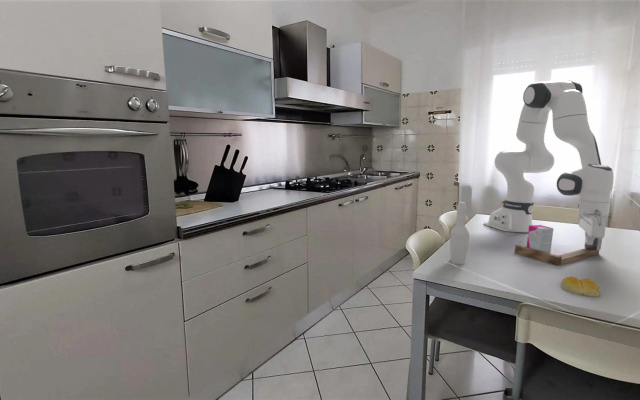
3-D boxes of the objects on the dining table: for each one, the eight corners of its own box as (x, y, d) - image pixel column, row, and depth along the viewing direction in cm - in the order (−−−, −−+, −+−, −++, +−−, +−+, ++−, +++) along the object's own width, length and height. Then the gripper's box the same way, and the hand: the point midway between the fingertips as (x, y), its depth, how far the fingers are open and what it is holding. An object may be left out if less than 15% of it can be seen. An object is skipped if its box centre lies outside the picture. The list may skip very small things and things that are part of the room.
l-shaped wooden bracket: (514, 252, 131) (516, 235, 130) (555, 243, 143) (557, 227, 142) (559, 266, 117) (561, 246, 116) (600, 254, 129) (603, 236, 128)
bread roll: (559, 283, 104) (561, 271, 103) (596, 290, 99) (598, 277, 99) (561, 293, 97) (563, 280, 96) (601, 301, 92) (603, 287, 92)
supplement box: (550, 257, 126) (554, 228, 124) (537, 258, 125) (541, 228, 123) (537, 252, 132) (541, 224, 130) (524, 253, 131) (528, 225, 129)
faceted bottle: (445, 259, 124) (449, 200, 120) (463, 259, 124) (467, 200, 120) (451, 265, 118) (456, 203, 114) (470, 266, 117) (475, 204, 114)
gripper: (613, 214, 115) (607, 253, 117) (596, 204, 133) (591, 238, 135) (590, 212, 118) (585, 250, 120) (577, 203, 136) (572, 236, 138)
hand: (588, 244), depth 128 cm, fingers closed
